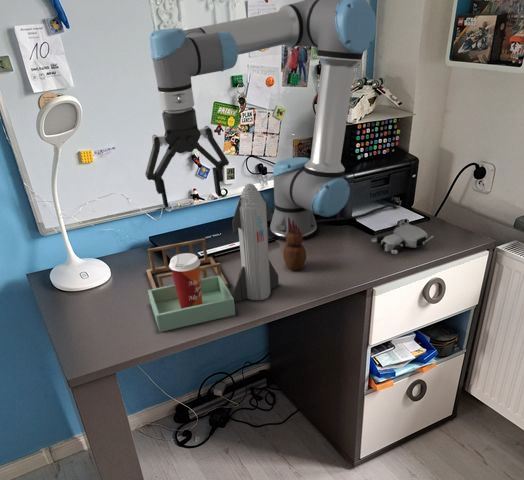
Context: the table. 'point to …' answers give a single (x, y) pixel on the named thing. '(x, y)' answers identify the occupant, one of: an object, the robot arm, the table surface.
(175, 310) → the green rectangular tray
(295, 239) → the wooden figurine
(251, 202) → the rocket model
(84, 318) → the table surface
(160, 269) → the drying rack
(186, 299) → the paper cup
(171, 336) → the table surface
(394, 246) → the robot toy
